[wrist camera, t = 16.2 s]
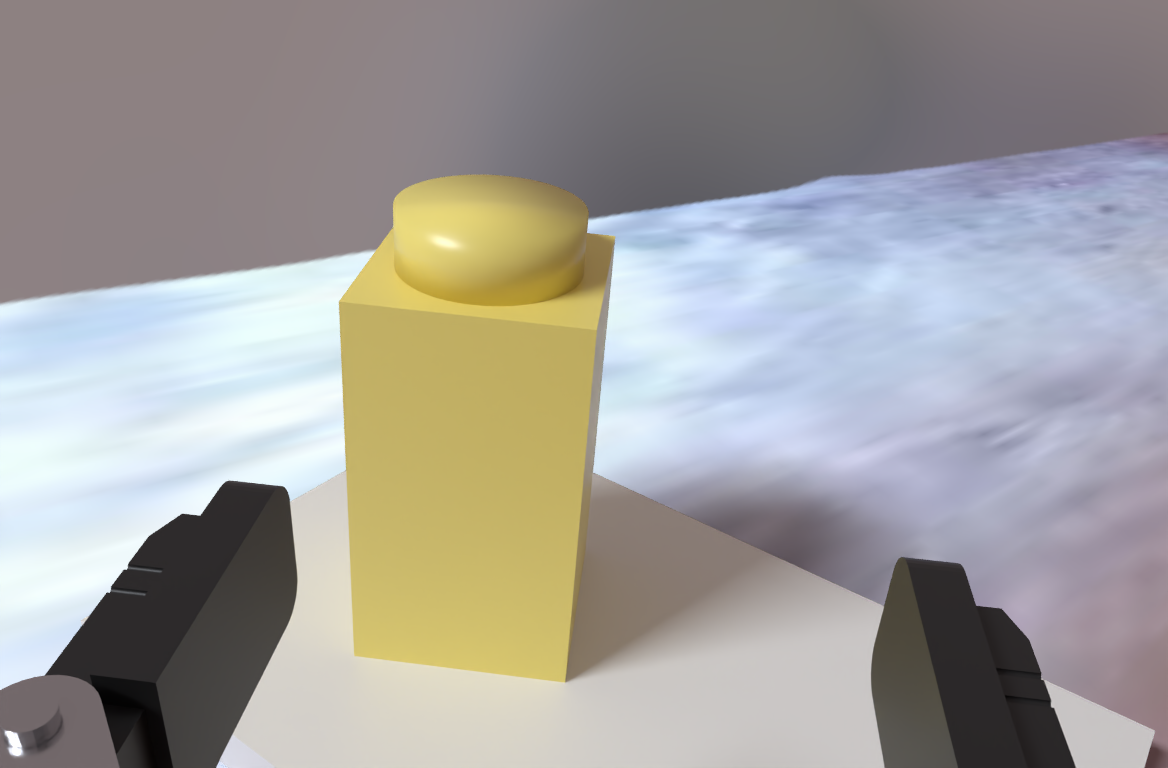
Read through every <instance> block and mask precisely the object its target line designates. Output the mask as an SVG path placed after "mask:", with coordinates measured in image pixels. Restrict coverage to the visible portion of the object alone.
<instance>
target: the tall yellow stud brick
mask: <svg viewBox="0 0 1168 768" xmlns="http://www.w3.org/2000/svg"><path fill="white" fill-rule="evenodd" d="M588 214H589V211H588V208H587V206H586V205H585V203H584V202H582V200H581V199H580V198H578V197H577V196H575V195H574V194H572V193H570V192H568V191H566V190H564V189H561V188H559V187H556V186H553V185H550V184H547V183H543V182H539V181H534V180H529V179H524V178H518V177H510V176H499V175H458V176H448V177H441V178H436V179H431V180H427V181H423V182H420V183H417V184H414V185H412V186H410V187H408V188H406V189H404V190H403V191H401V192H400V193H399V194H398V195H397V196H396V198H395V199H394V203H393V221H394V227H393V228H392V230H391V231H390V232H389V234H388V235H387V236H386V238H385V239H384V241H383V242H382V243H381V245H380V246H379V248H378V249H377V250H376V251H375V253H374V254H373V256H372V257H371V258H370V260H369V261H368V262H367V264H366V265H365V267H364V268H363V269H362V271H361V272H360V273H359V275H358V276H357V278H356V279H355V280H354V282H353V283H352V284H351V286H350V287H349V289H348V290H347V291H346V293H345V294H344V295H343V297H342V298H341V300H340V301H339V314H340V337H341V360H342V384H343V407H344V431H345V454H346V478H347V501H348V525H349V548H350V572H351V595H352V618H353V642H354V656H358V657H366V658H374V659H382V660H390V661H398V662H406V663H413V664H421V665H429V666H437V667H445V668H453V669H461V670H469V671H477V672H485V673H493V674H500V675H508V676H516V677H524V678H532V679H540V680H548V681H556V682H564V683H565V680H566V674H567V667H568V661H569V654H570V648H571V641H572V635H573V628H574V622H575V615H576V608H577V602H578V595H579V589H580V582H581V576H582V569H583V563H584V556H585V550H586V539H587V529H588V518H589V508H590V497H591V487H592V476H593V466H594V455H595V445H596V434H597V423H598V413H599V402H600V392H601V381H602V371H603V360H604V350H605V339H606V329H607V318H608V308H609V297H610V287H611V276H612V266H613V255H614V245H615V236H609V235H599V234H590V233H587V226H588Z"/></svg>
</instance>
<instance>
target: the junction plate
mask: <svg viewBox="0 0 1168 768" xmlns="http://www.w3.org/2000/svg"><path fill="white" fill-rule="evenodd" d="M290 508H291V517H292V527H293V537H294V546H295V556H296V566H297V577H298V582H297V594H296V600H295V605H294V609H293V612H292V616H291V618H290V621H289V623H288V625H287V627H286V629H285V631H284V633H283V635H282V637H281V639H280V641H279V643H278V645H277V647H276V649H275V651H274V653H273V655H272V657H271V659H270V661H269V663H268V665H267V667H266V669H265V671H264V673H263V675H262V677H261V679H260V681H259V683H258V685H257V687H256V689H255V691H254V693H253V695H252V697H251V699H250V701H249V703H248V705H247V707H246V709H245V711H244V713H243V715H242V717H241V719H240V721H239V723H238V725H237V727H236V729H235V731H234V733H233V734H232V736H231V738H230V740H229V742H228V744H227V746H226V748H225V750H224V752H223V754H222V756H221V758H220V760H219V761H220V762H221V763H223V764H224V765H225V766H227V767H228V768H885V767H884V761H883V755H882V750H881V744H880V738H879V732H878V727H877V721H876V715H875V709H874V704H873V698H872V690H871V663H872V654H873V648H874V643H875V639H876V636H877V632H878V628H879V624H880V620H881V617H882V613H883V609H884V606H882V605H880V604H878V603H876V602H874V601H871V600H869V599H867V598H865V597H863V596H861V595H858V594H856V593H854V592H852V591H850V590H848V589H845V588H843V587H841V586H839V585H837V584H834V583H832V582H830V581H828V580H826V579H824V578H821V577H819V576H817V575H815V574H813V573H810V572H808V571H806V570H804V569H802V568H800V567H797V566H795V565H793V564H791V563H789V562H787V561H784V560H782V559H780V558H778V557H776V556H773V555H771V554H769V553H767V552H765V551H763V550H760V549H758V548H756V547H754V546H752V545H750V544H747V543H745V542H743V541H741V540H739V539H736V538H734V537H732V536H730V535H728V534H726V533H723V532H721V531H719V530H717V529H715V528H713V527H710V526H708V525H706V524H704V523H702V522H699V521H697V520H695V519H693V518H691V517H689V516H686V515H684V514H682V513H680V512H678V511H676V510H673V509H671V508H669V507H667V506H665V505H662V504H660V503H658V502H656V501H654V500H652V499H649V498H647V497H645V496H643V495H641V494H639V493H636V492H634V491H632V490H630V489H628V488H625V487H623V486H621V485H619V484H617V483H615V482H612V481H610V480H608V479H606V478H604V477H602V476H599V475H597V474H595V473H593V476H592V487H591V497H590V508H589V518H588V529H587V539H586V550H585V556H584V563H583V569H582V576H581V582H580V589H579V595H578V602H577V608H576V615H575V622H574V628H573V635H572V641H571V648H570V654H569V661H568V667H567V674H566V680H565V683H564V682H556V681H548V680H540V679H532V678H524V677H516V676H508V675H500V674H493V673H485V672H477V671H469V670H461V669H453V668H445V667H437V666H429V665H421V664H413V663H406V662H398V661H390V660H382V659H374V658H366V657H358V656H354V642H353V618H352V595H351V572H350V548H349V525H348V501H347V478H346V470H345V471H344V472H342V473H340V474H338V475H337V476H335V477H333V478H331V479H330V480H328V481H326V482H324V483H322V484H321V485H319V486H317V487H315V488H314V489H312V490H310V491H308V492H307V493H305V494H303V495H301V496H300V497H298V498H296V499H294V500H293V501H291V502H290ZM88 617H89V616H88ZM88 617H86V618H84V619H83V620H81V623H82V625H83V624H84V622H85V621H86V620H87V618H88ZM1041 680H1043V679H1041ZM1044 682H1045V684H1046V687H1047V690H1048V693H1049V695H1050V698H1051V707H1052V708H1054V709H1055V712H1056V714H1057V717H1058V720H1059V722H1060V725H1061V728H1062V731H1063V733H1064V736H1065V739H1066V742H1067V744H1068V747H1069V750H1070V752H1071V755H1072V758H1073V761H1074V763H1075V766H1076V768H1144V767H1145V763H1146V760H1147V757H1148V753H1149V750H1150V747H1151V743H1152V740H1153V737H1154V733H1155V731H1154V730H1152V729H1150V728H1148V727H1146V726H1144V725H1141V724H1139V723H1137V722H1135V721H1133V720H1130V719H1128V718H1126V717H1124V716H1122V715H1120V714H1117V713H1115V712H1113V711H1111V710H1109V709H1107V708H1104V707H1102V706H1100V705H1098V704H1096V703H1093V702H1091V701H1089V700H1087V699H1085V698H1083V697H1080V696H1078V695H1076V694H1074V693H1072V692H1070V691H1067V690H1065V689H1063V688H1061V687H1059V686H1056V685H1054V684H1052V683H1050V682H1048V681H1046V680H1044Z"/></svg>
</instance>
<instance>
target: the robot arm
mask: <svg viewBox="0 0 1168 768" xmlns="http://www.w3.org/2000/svg"><path fill="white" fill-rule="evenodd" d="M297 582H298V577H297V566H296V556H295V546H294V537H293V527H292V517H291V508H290V499H289V495H288V492H287V490H286V489H285V487H283V486H274V485H265V484H256V483H247V482H238V481H227V482H225V483H224V484H223V485H222V486H221V487H220V489H219V490H218V491H217V493H216V494H215V496H214V497H213V499H212V500H211V501H210V503H209V504H208V506H207V507H206V509H205V510H204V511H203V513H202V514H201V516H198V515H189V514H181V515H180V516H178V517H177V518H175V519H174V520H172V521H171V522H169V523H168V524H166V525H165V526H163V527H162V528H160V529H159V530H158V531H156V532H155V533H153V534H152V535H150V536H149V537H148V538H147V539H146V541H145V542H144V543H143V545H142V546H141V547H140V549H139V550H138V552H137V553H136V554H135V556H134V557H133V558H132V560H131V561H130V562H129V564H128V569H127V570H123V572H122V573H121V574H120V576H119V577H118V578H117V580H116V581H115V582H114V584H113V585H112V586H111V592H110V593H106V594H105V596H104V597H103V598H102V600H101V601H100V602H99V604H98V605H97V606H96V608H95V609H94V610H93V612H92V613H91V614H90V616H89V617H88V618H87V620H86V621H85V622H84V624H83V625H82V626H81V628H80V629H79V630H78V632H77V633H76V634H75V636H74V637H73V638H72V640H71V641H70V642H69V644H68V645H67V646H66V648H65V649H64V651H63V652H62V653H61V655H60V656H59V657H58V659H57V660H56V661H55V663H54V664H53V665H52V667H51V668H50V669H49V671H48V672H47V673H46V675H45V676H40V677H34V678H30V679H26V680H23V681H20V682H18V683H15V684H12V685H10V686H8V687H6V688H4V689H2V690H0V768H216V766H217V764H218V762H219V760H220V758H221V756H222V754H223V752H224V750H225V748H226V746H227V744H228V742H229V740H230V738H231V736H232V734H233V733H234V731H235V729H236V727H237V725H238V723H239V721H240V719H241V717H242V715H243V713H244V711H245V709H246V707H247V705H248V703H249V701H250V699H251V697H252V695H253V693H254V691H255V689H256V687H257V685H258V683H259V681H260V679H261V677H262V675H263V673H264V671H265V669H266V667H267V665H268V663H269V661H270V659H271V657H272V655H273V653H274V651H275V649H276V647H277V645H278V643H279V641H280V639H281V637H282V635H283V633H284V631H285V629H286V627H287V625H288V623H289V621H290V618H291V616H292V612H293V609H294V605H295V600H296V594H297ZM871 690H872V698H873V704H874V709H875V715H876V721H877V727H878V732H879V738H880V744H881V750H882V755H883V761H884V767H885V768H1076V766H1075V763H1074V761H1073V758H1072V755H1071V752H1070V750H1069V747H1068V744H1067V742H1066V739H1065V736H1064V733H1063V731H1062V728H1061V725H1060V722H1059V720H1058V717H1057V714H1056V712H1055V709H1054V708H1052V707H1051V698H1050V695H1049V693H1048V690H1047V687H1046V684H1045V682H1044V680H1041V671H1040V668H1039V665H1038V663H1037V660H1036V657H1035V655H1034V652H1033V649H1032V646H1031V644H1030V641H1029V639H1028V638H1027V637H1026V636H1025V635H1024V634H1023V632H1022V631H1021V630H1020V629H1019V628H1018V627H1017V626H1016V625H1015V623H1014V622H1013V621H1012V620H1011V619H1010V618H1009V617H1008V616H1007V614H1006V613H1005V612H1004V611H1003V610H1002V609H999V608H991V607H982V606H976V604H975V601H974V598H973V595H972V592H971V589H970V586H969V582H968V579H967V576H966V573H965V570H964V568H963V567H962V565H961V564H958V563H950V562H941V561H932V560H923V559H914V558H905V557H901V558H899V559H898V561H897V563H896V565H895V568H894V571H893V575H892V579H891V583H890V586H889V590H888V594H887V598H886V601H885V605H884V609H883V613H882V617H881V620H880V624H879V628H878V632H877V636H876V639H875V643H874V648H873V654H872V663H871Z"/></svg>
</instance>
